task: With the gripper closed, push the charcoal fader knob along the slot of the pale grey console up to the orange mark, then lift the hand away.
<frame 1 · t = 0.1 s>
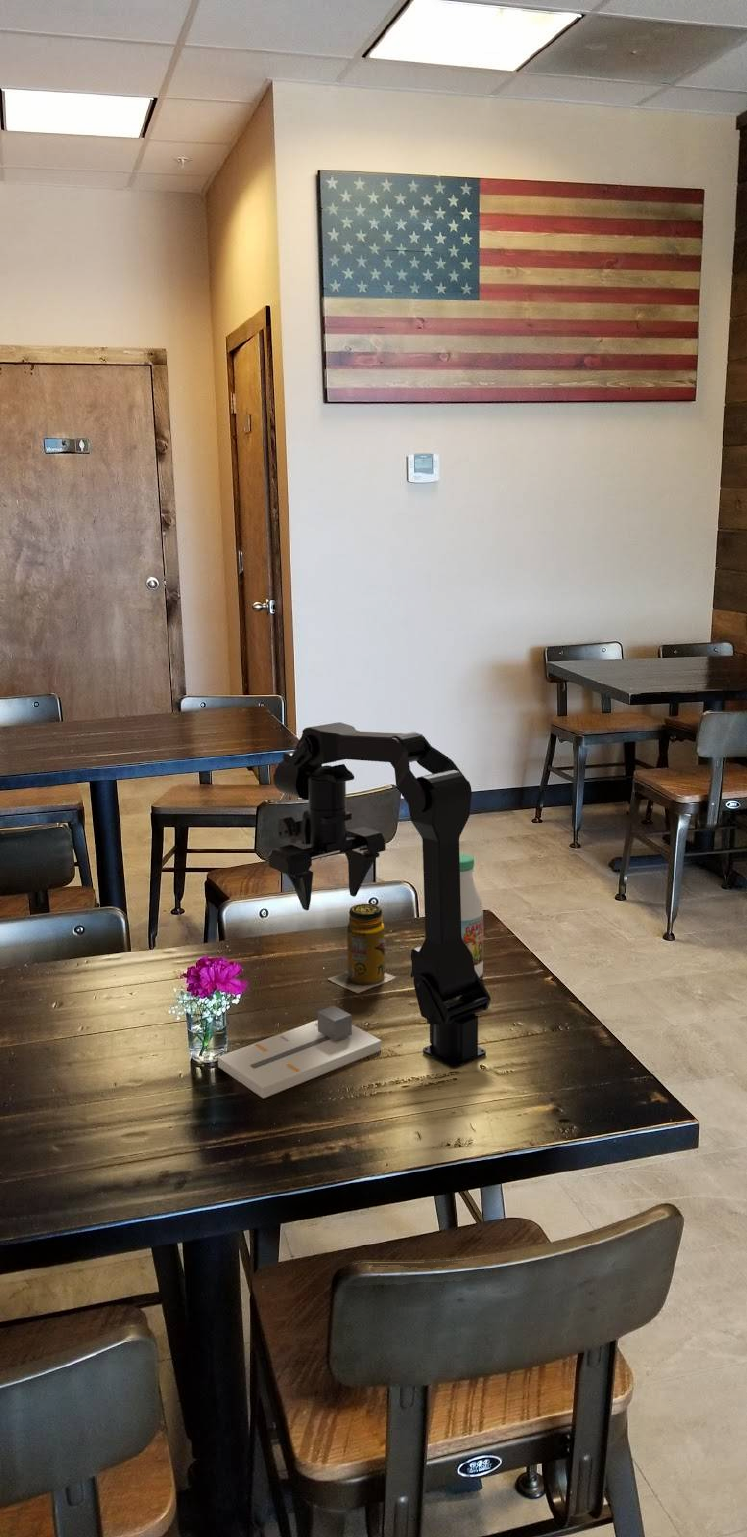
hand: (329, 902, 175), 15 cm above the table, fingers open, 9 cm apart
console: (300, 1058, 157), on the table
fader: (334, 1023, 160), point 3 cm above the table, slide at -6.0 cm
milk bottle: (458, 975, 183), on the table
condiment: (361, 980, 182), on the table
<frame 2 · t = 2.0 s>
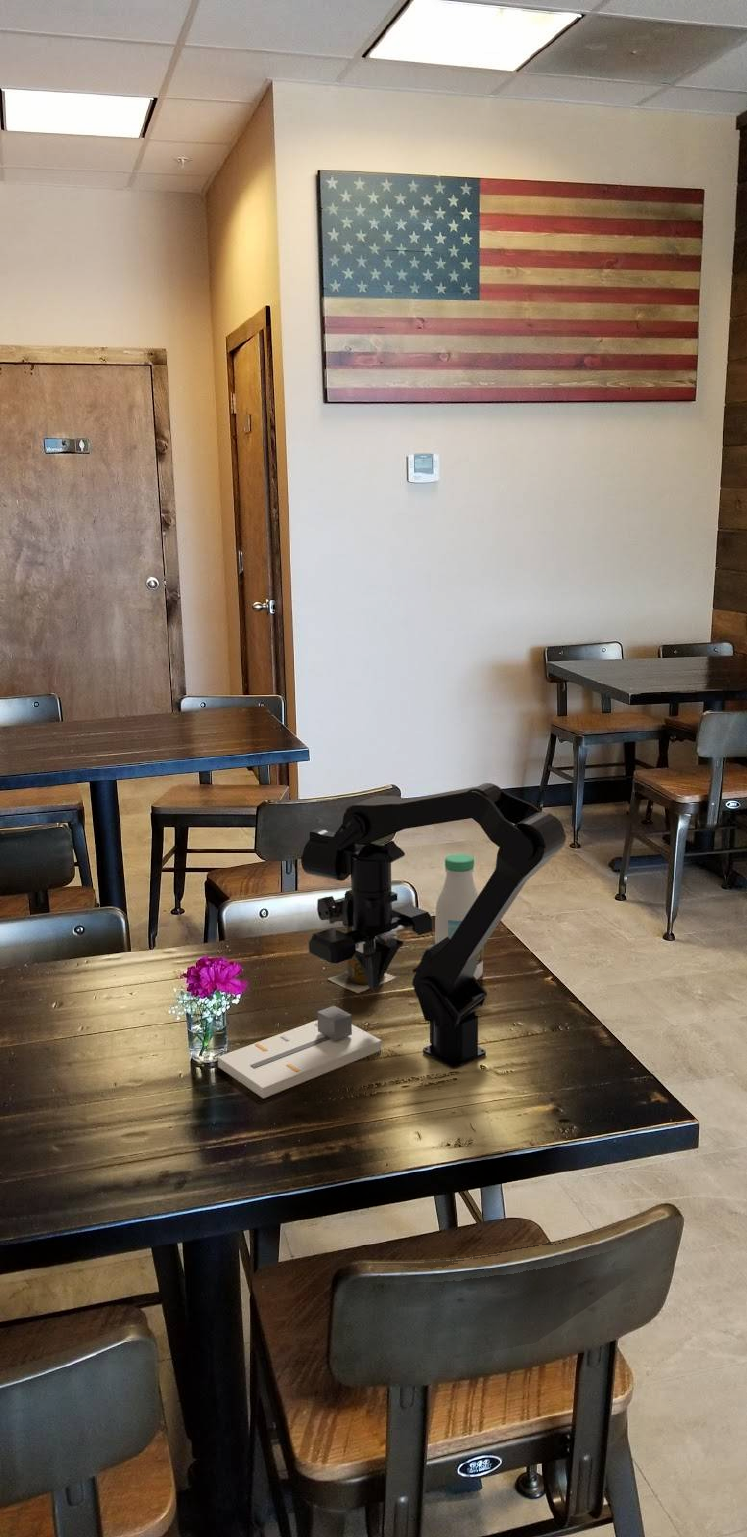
hand: (373, 988, 163), 7 cm above the table, fingers closed
nothing on the table moved.
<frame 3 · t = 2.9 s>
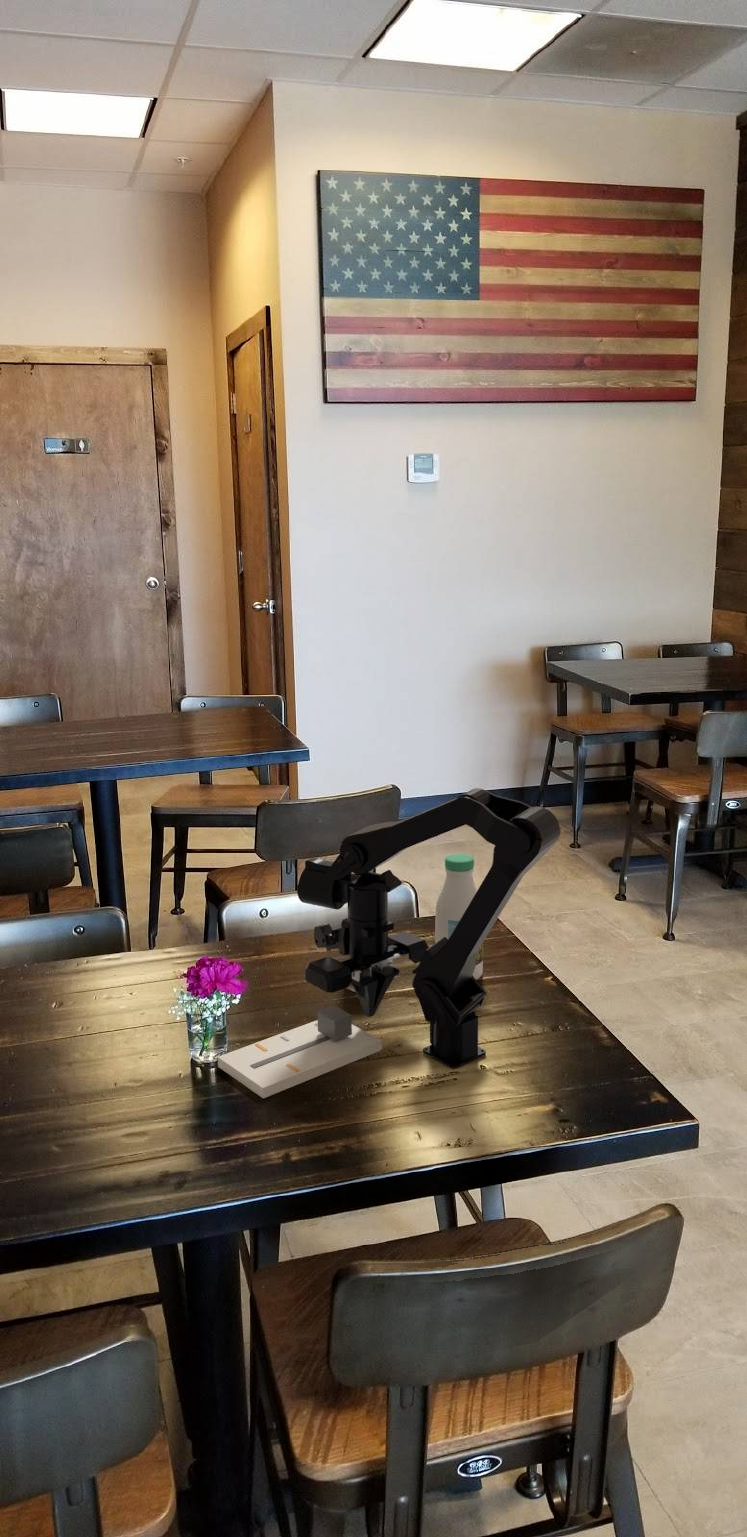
hand: (369, 1015, 164), 3 cm above the table, fingers closed
nothing on the table moved.
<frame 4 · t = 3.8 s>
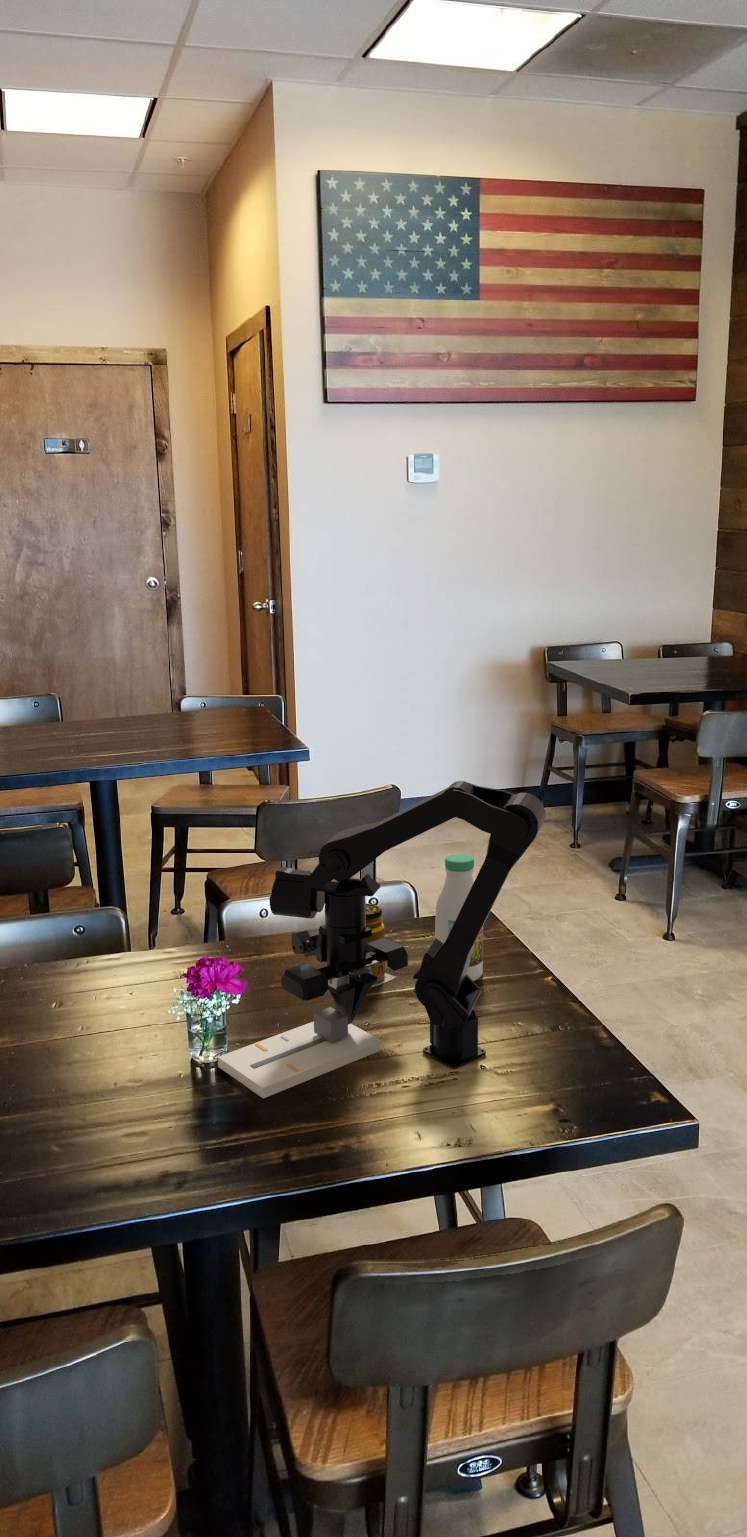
hand: (347, 1023, 161), 3 cm above the table, fingers closed
fader: (330, 1024, 159), point 3 cm above the table, slide at -5.3 cm, touching gripper
everything else where it was.
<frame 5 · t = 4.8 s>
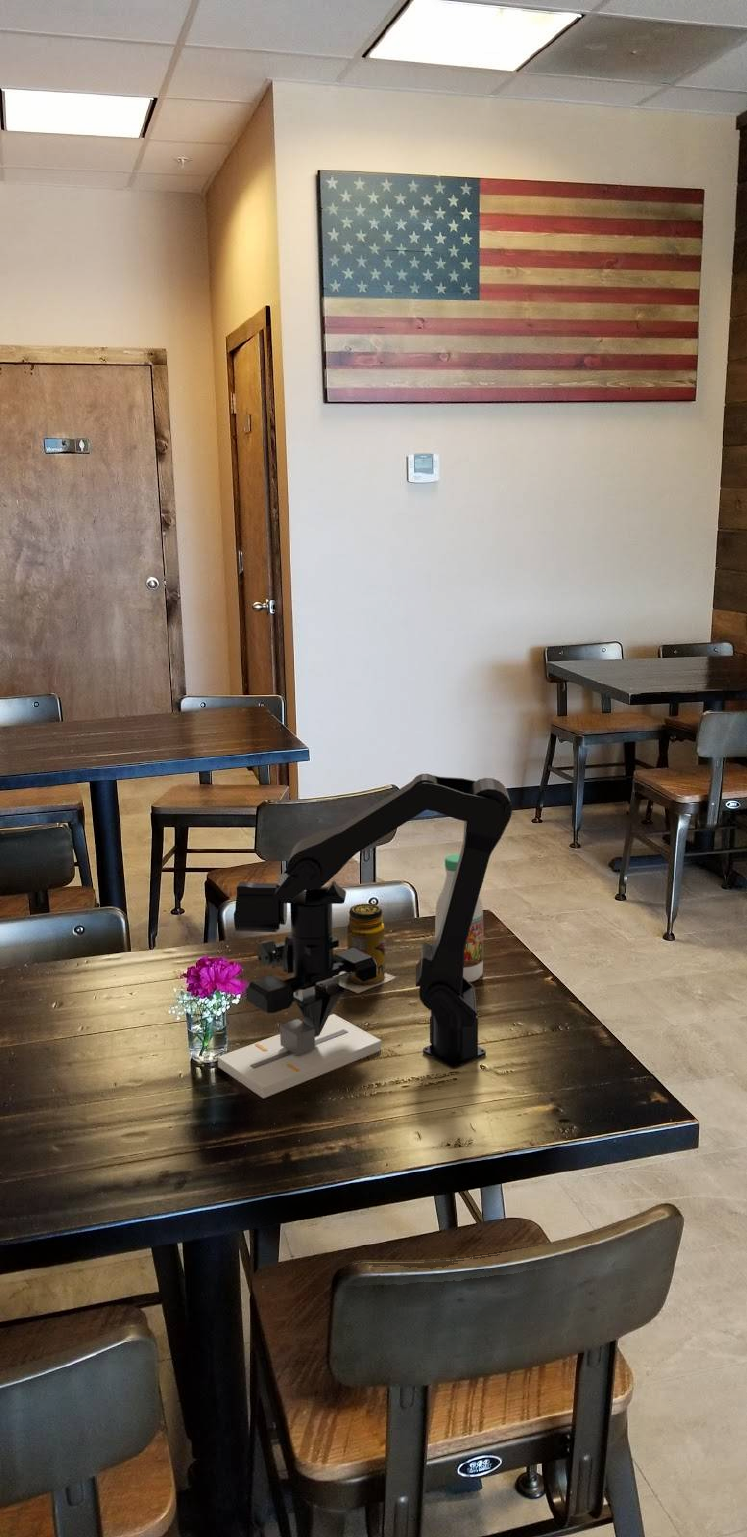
hand: (314, 1035, 158), 3 cm above the table, fingers closed
fader: (297, 1037, 156), point 3 cm above the table, slide at 0.5 cm, touching gripper
everything else where it was.
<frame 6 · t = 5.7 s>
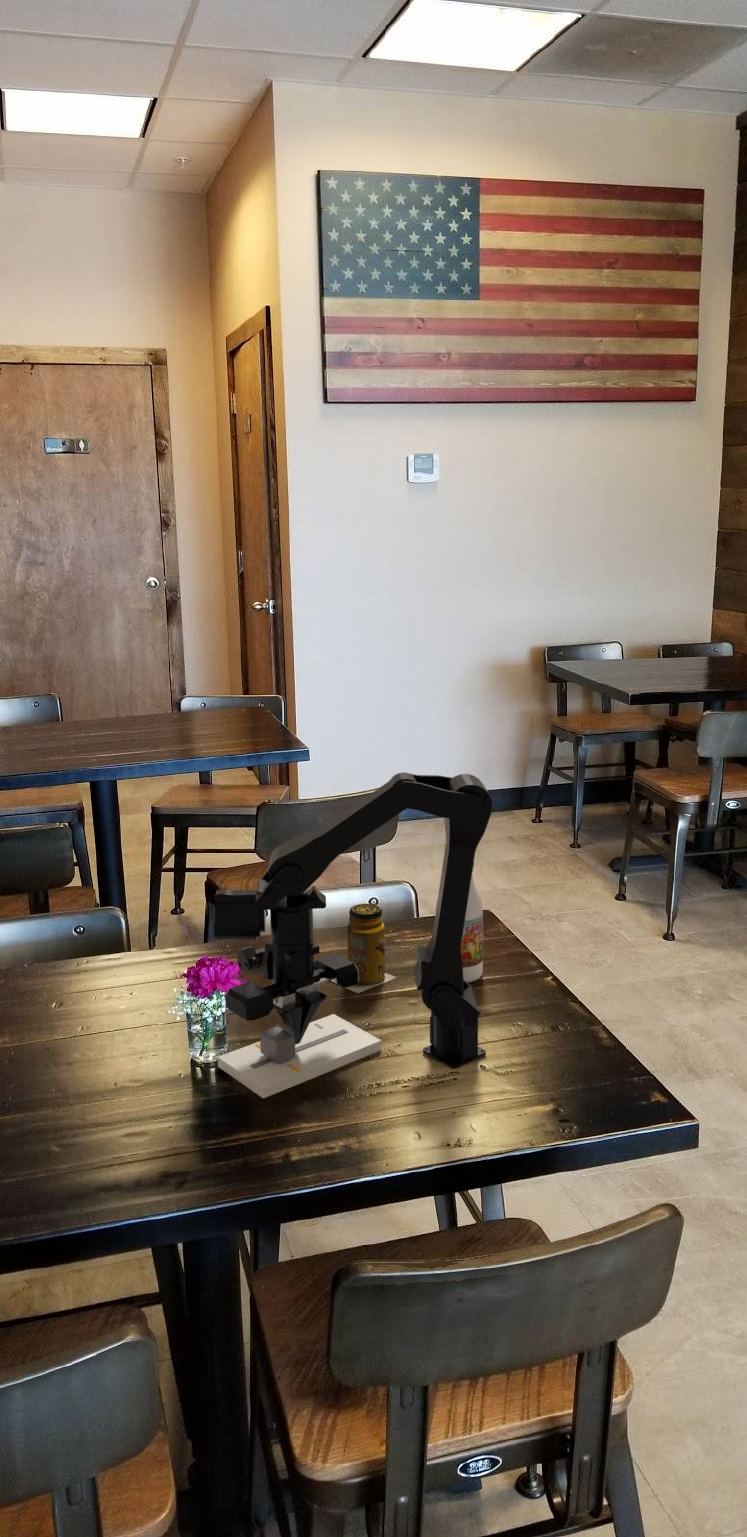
hand: (295, 1043, 156), 3 cm above the table, fingers closed
fader: (277, 1044, 154), point 3 cm above the table, slide at 3.8 cm, touching gripper
everything else where it was.
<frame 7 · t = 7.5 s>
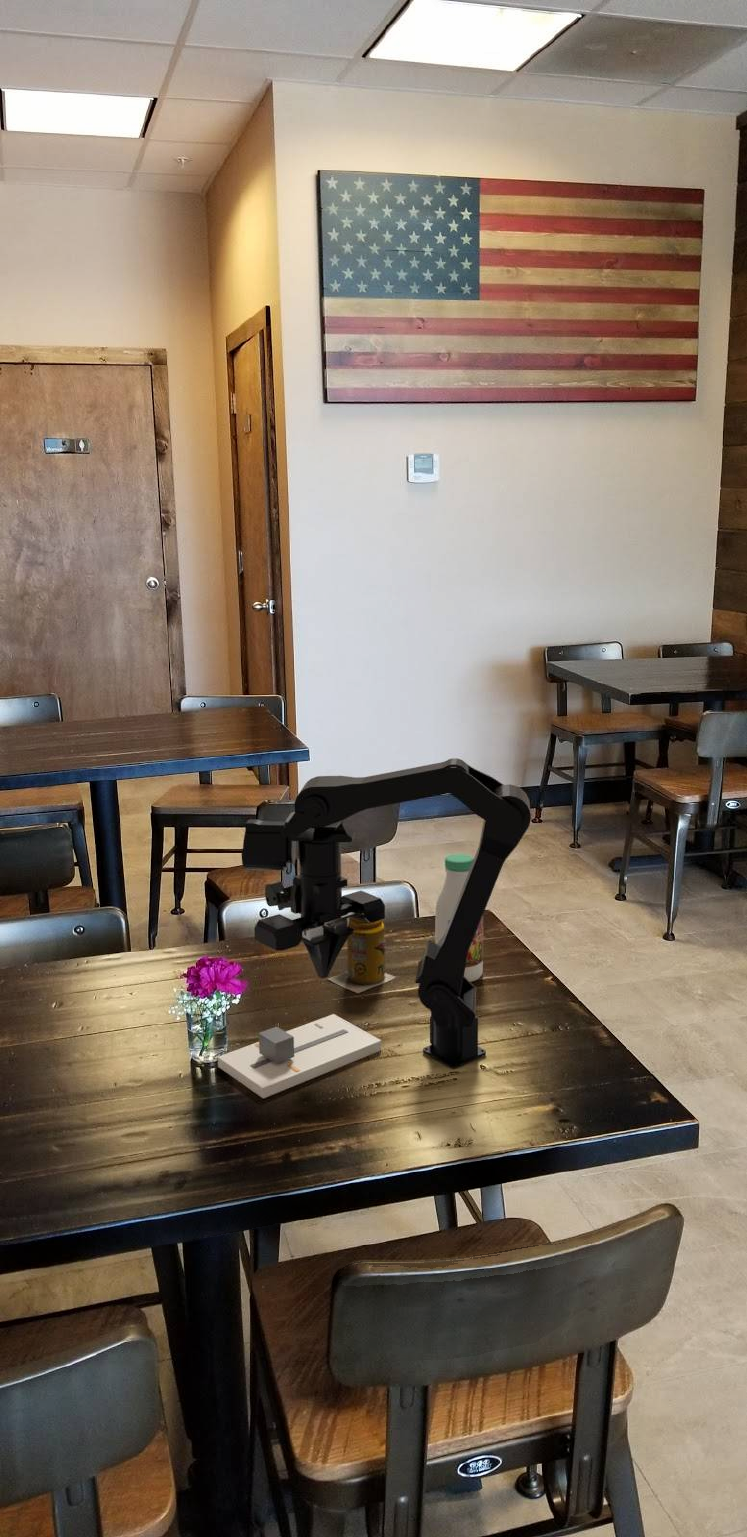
hand: (322, 977, 157), 11 cm above the table, fingers closed
fader: (276, 1045, 153), point 3 cm above the table, slide at 4.0 cm
everything else where it was.
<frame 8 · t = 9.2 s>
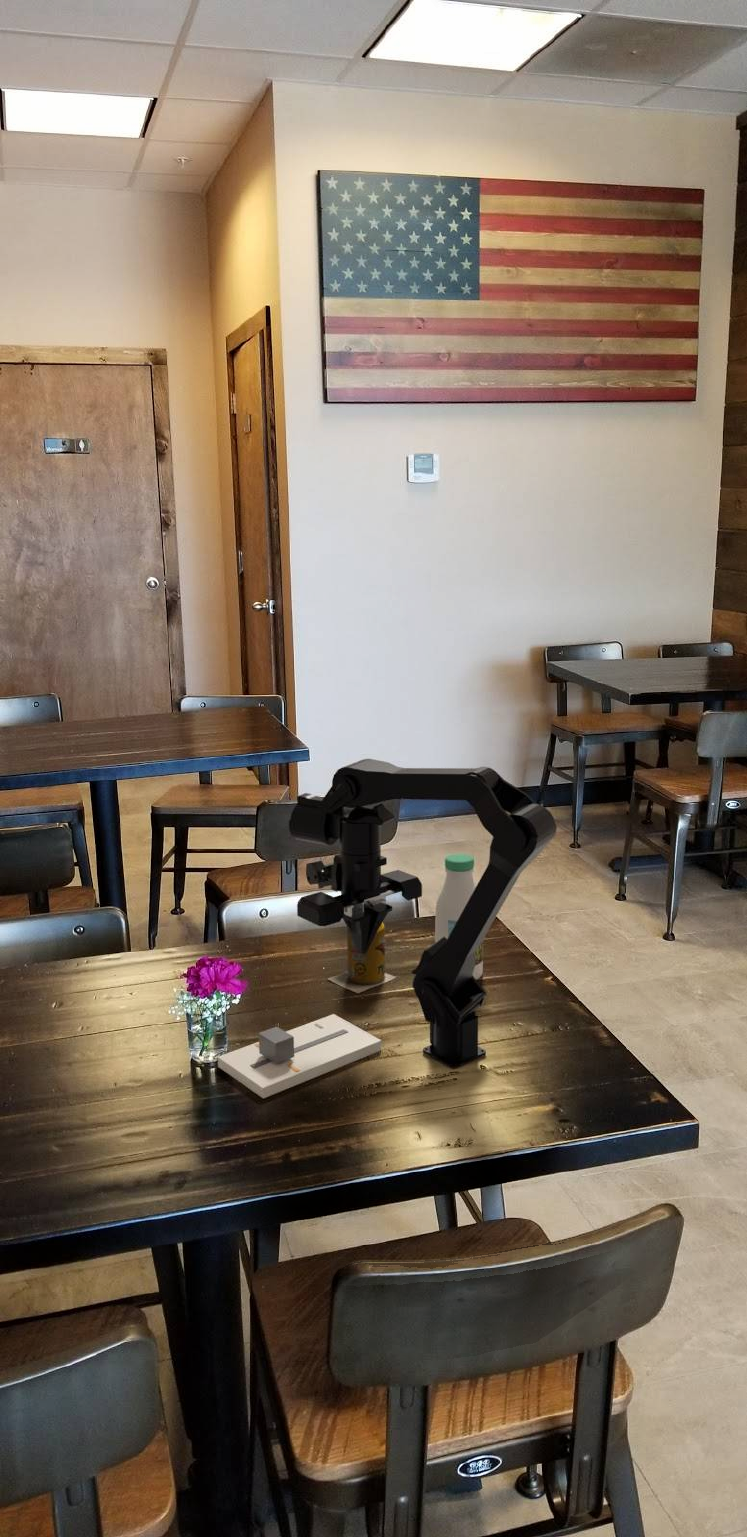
hand: (362, 953, 162), 12 cm above the table, fingers closed
nothing on the table moved.
at the end: fader slide at 4.0 cm; condiment moved 0.3 cm from its start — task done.
